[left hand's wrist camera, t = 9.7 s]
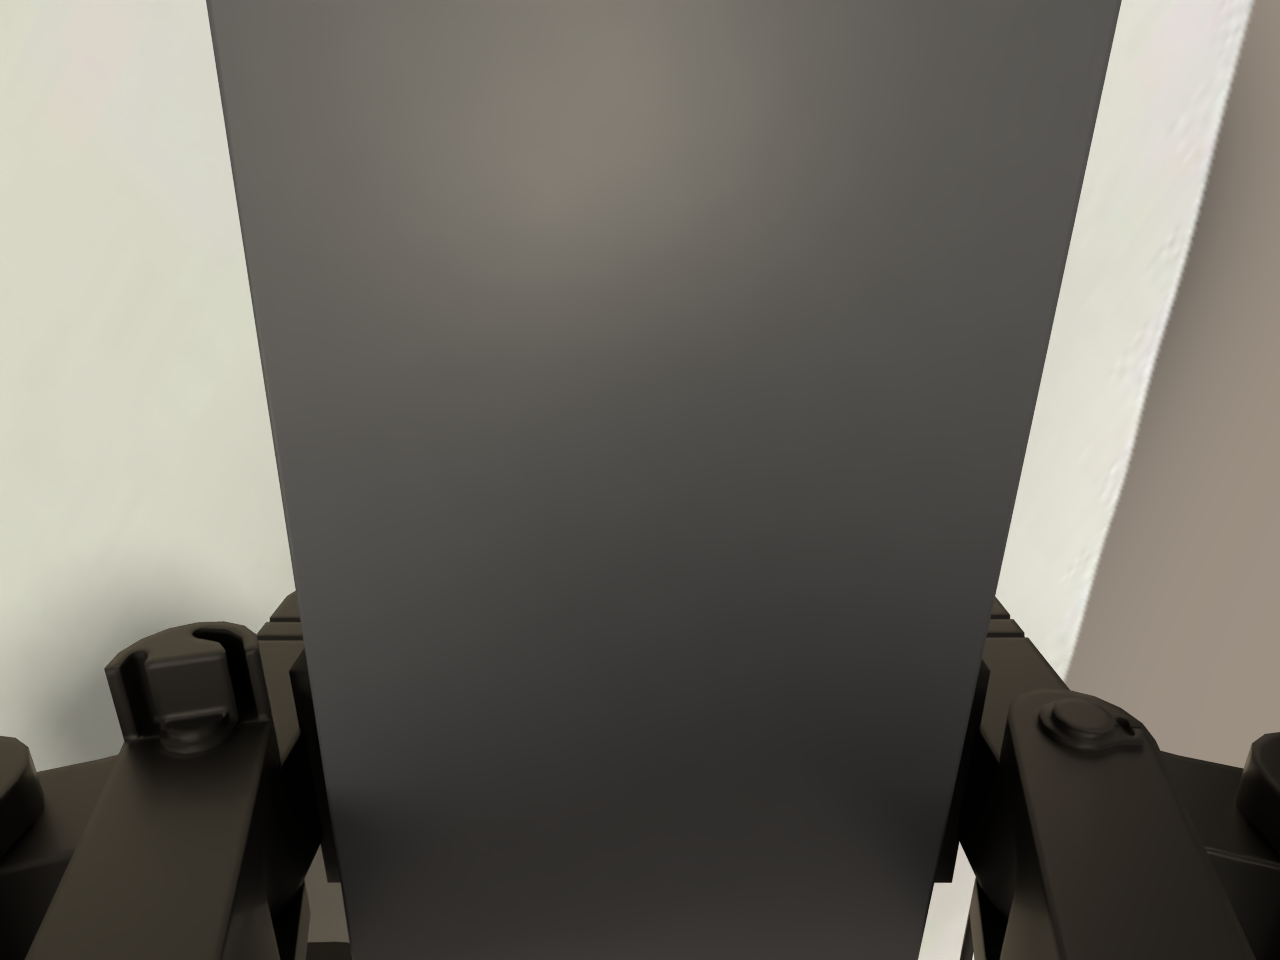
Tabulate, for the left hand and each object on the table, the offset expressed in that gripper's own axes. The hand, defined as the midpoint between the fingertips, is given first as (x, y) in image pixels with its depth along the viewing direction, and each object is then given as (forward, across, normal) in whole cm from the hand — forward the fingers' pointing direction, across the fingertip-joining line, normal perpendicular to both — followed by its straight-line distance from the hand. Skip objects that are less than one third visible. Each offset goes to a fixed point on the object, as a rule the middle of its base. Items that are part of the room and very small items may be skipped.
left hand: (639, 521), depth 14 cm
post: (0, -1, -34) cm, 35 cm away
